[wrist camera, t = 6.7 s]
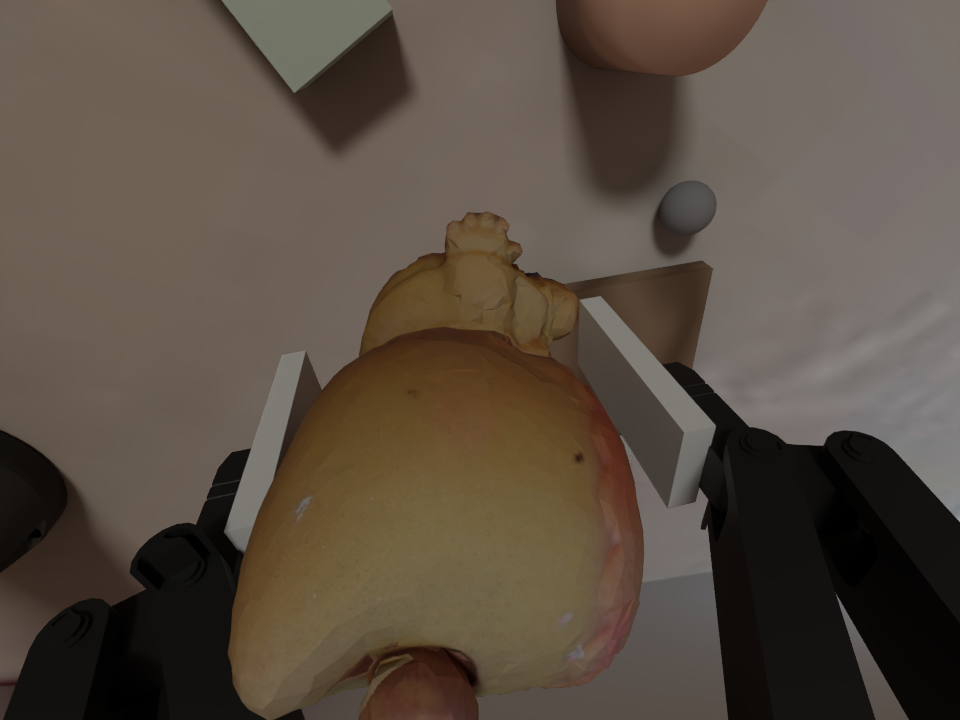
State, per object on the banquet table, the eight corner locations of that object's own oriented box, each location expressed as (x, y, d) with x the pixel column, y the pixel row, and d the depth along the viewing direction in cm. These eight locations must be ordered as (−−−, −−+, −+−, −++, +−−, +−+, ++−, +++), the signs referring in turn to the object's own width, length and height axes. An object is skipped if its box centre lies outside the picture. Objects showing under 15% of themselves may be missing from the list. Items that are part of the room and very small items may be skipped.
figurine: (508, 433, 22) (518, 915, 9) (357, 384, 21) (117, 849, 8) (608, 242, 17) (945, 675, 4) (419, 166, 16) (69, 424, 3)
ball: (647, 229, 33) (671, 246, 30) (653, 179, 31) (679, 192, 28) (693, 221, 33) (721, 238, 30) (702, 171, 31) (733, 184, 28)
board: (472, 451, 43) (474, 463, 42) (447, 304, 34) (449, 313, 32) (672, 413, 44) (680, 423, 43) (701, 260, 35) (712, 268, 34)
